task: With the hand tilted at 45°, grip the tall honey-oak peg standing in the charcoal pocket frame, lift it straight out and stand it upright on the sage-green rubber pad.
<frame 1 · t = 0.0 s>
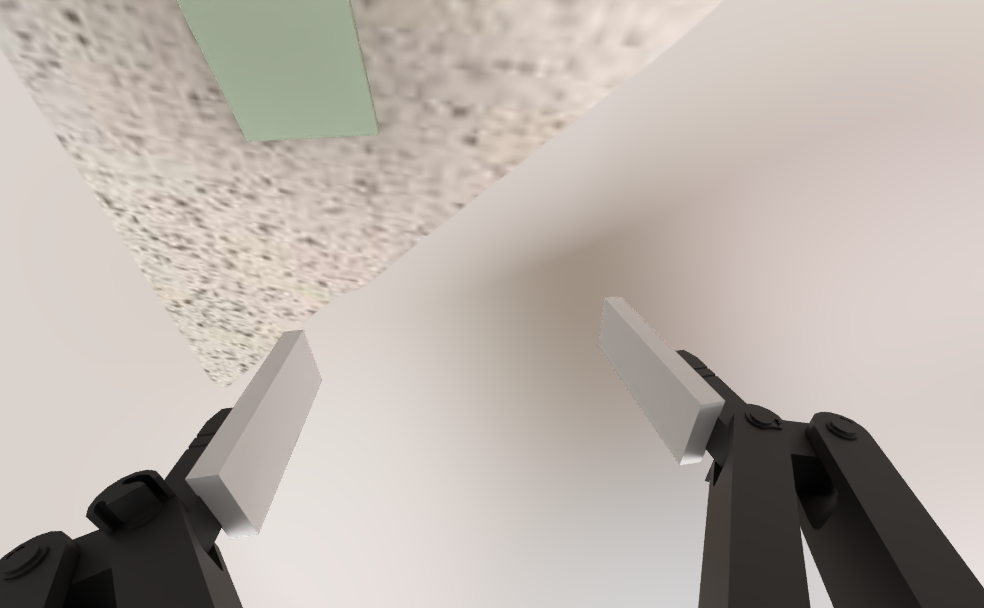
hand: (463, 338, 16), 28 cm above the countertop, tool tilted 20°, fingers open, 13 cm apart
rubber pad: (290, 60, 29), on the countertop
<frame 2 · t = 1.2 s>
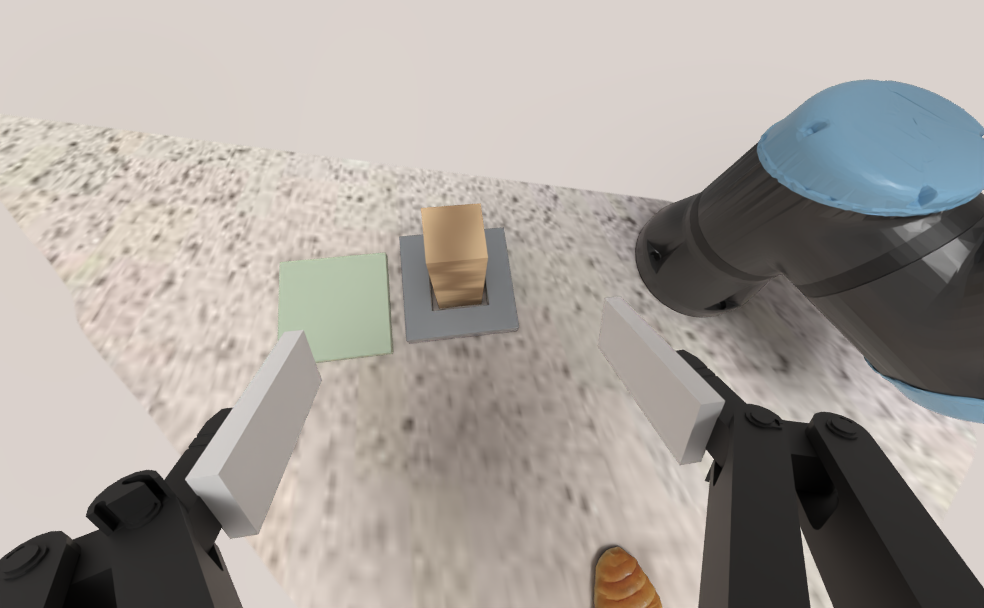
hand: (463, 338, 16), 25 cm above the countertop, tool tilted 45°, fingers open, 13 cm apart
pastry: (620, 605, 35), on the countertop
oak peg: (458, 286, 42), resting in pocket frame
pocket frame: (458, 286, 42), on the countertop
rubber pad: (337, 308, 40), on the countertop
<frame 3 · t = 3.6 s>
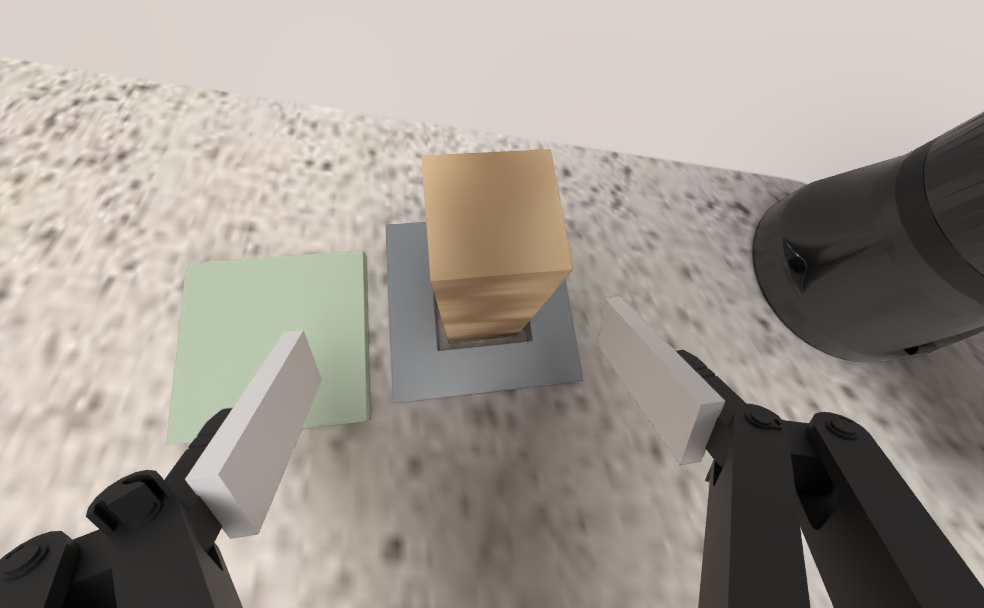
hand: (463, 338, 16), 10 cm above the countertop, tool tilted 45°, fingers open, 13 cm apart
oak peg: (479, 307, 26), resting in pocket frame
pocket frame: (479, 307, 26), on the countertop
rubber pad: (280, 341, 24), on the countertop
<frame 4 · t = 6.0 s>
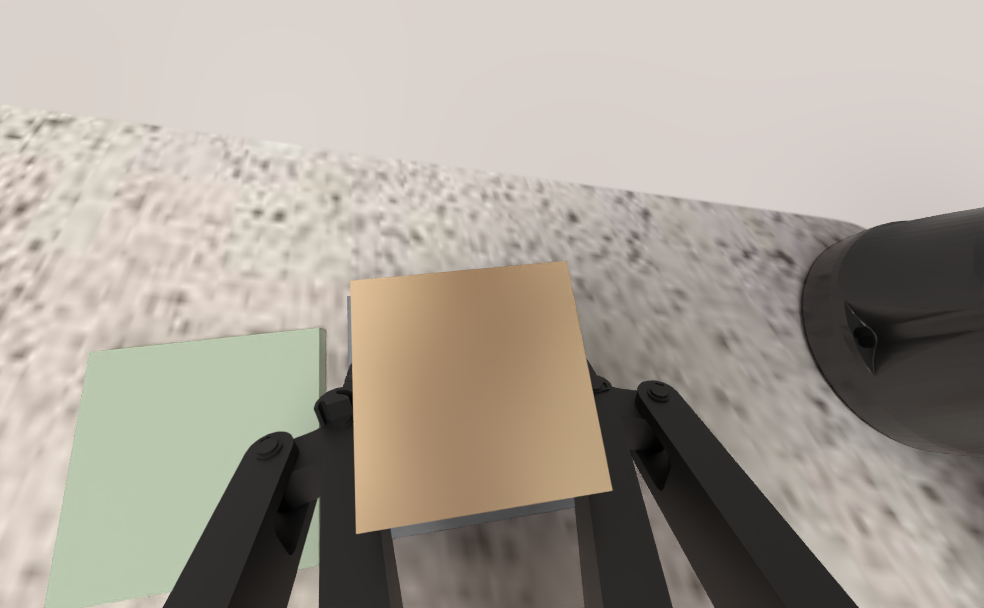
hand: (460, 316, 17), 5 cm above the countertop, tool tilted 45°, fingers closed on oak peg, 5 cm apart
oak peg: (467, 394, 21), resting in pocket frame, touching gripper
pocket frame: (468, 395, 21), on the countertop
rubber pad: (211, 450, 19), on the countertop
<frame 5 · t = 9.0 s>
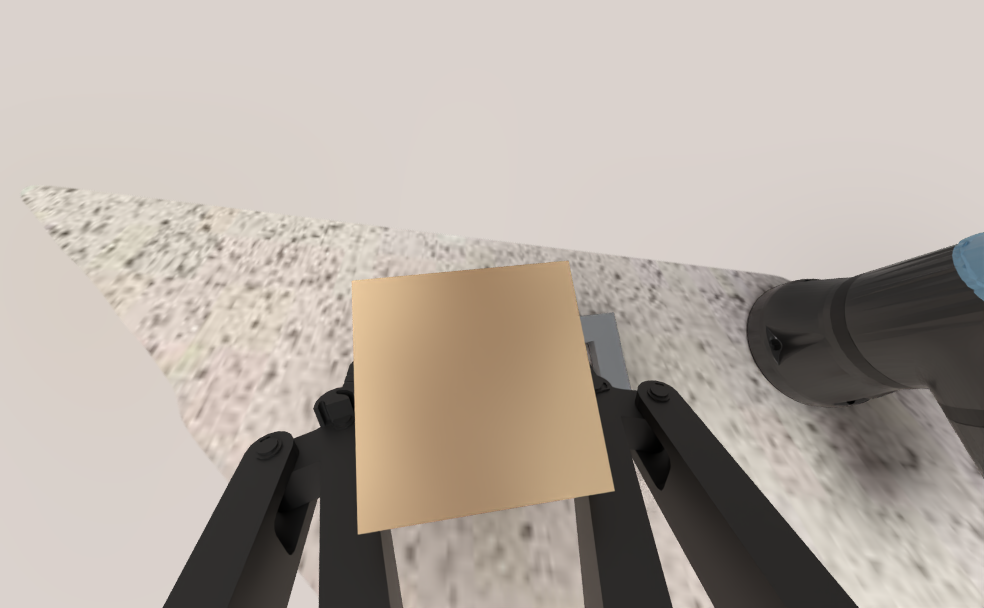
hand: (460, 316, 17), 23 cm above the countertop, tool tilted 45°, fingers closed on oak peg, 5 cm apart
oak peg: (468, 394, 21), point 19 cm above the countertop, touching gripper
pocket frame: (566, 374, 40), on the countertop
when the fingers open (7 cm above the countertop, at t = 12.4 s): oak peg drops 2 cm, resting on rubber pad.
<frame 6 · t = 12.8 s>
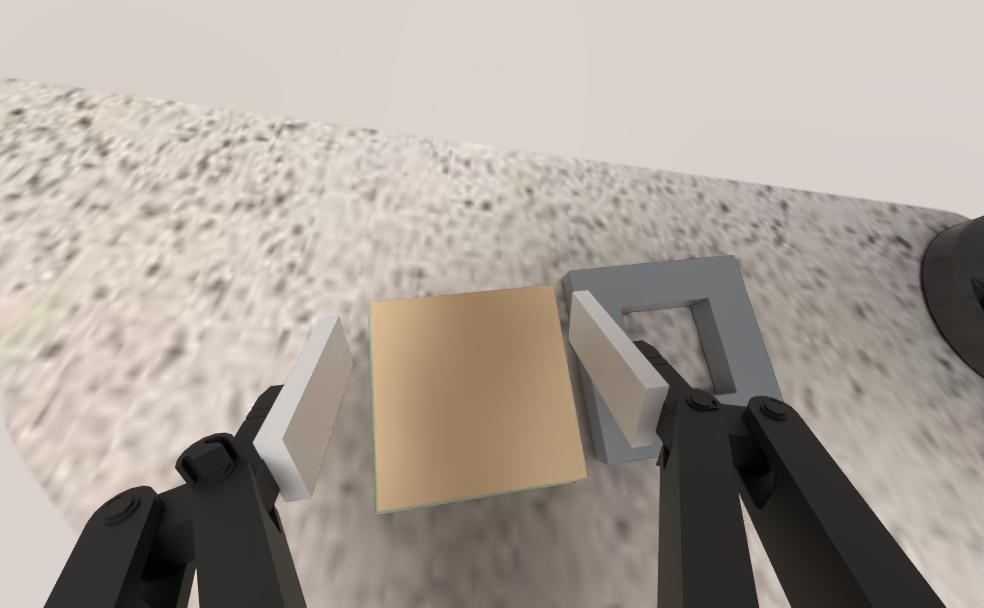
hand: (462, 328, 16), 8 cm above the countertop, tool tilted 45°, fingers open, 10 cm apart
oak peg: (468, 396, 22), point 1 cm above the countertop, touching rubber pad
pocket frame: (661, 353, 25), on the countertop
rubber pad: (467, 395, 23), on the countertop
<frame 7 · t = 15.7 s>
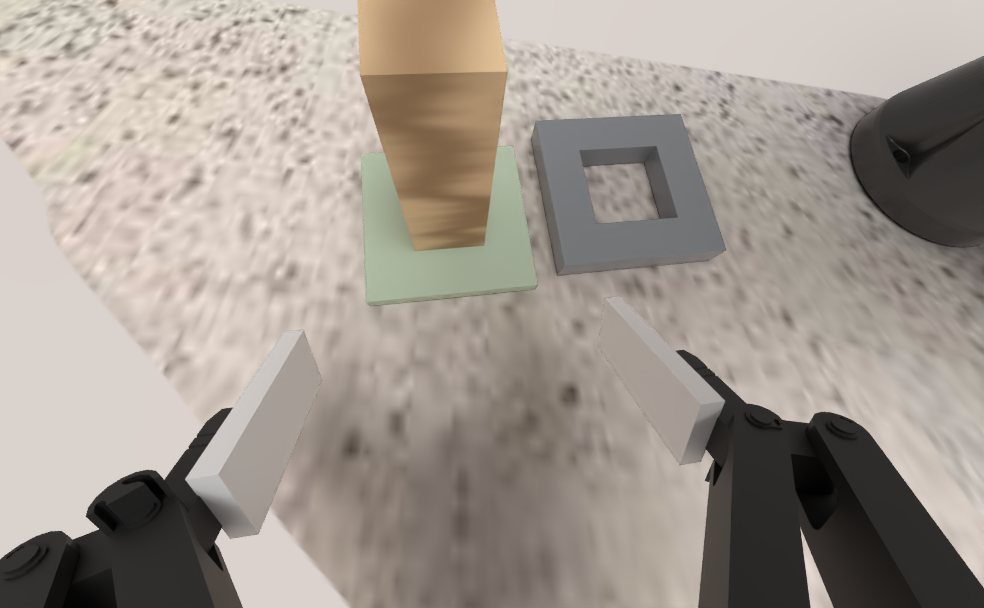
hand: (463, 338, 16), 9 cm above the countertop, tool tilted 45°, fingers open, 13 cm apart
oak peg: (446, 217, 26), point 1 cm above the countertop, touching rubber pad
pocket frame: (616, 197, 29), on the countertop
rubber pad: (446, 223, 27), on the countertop
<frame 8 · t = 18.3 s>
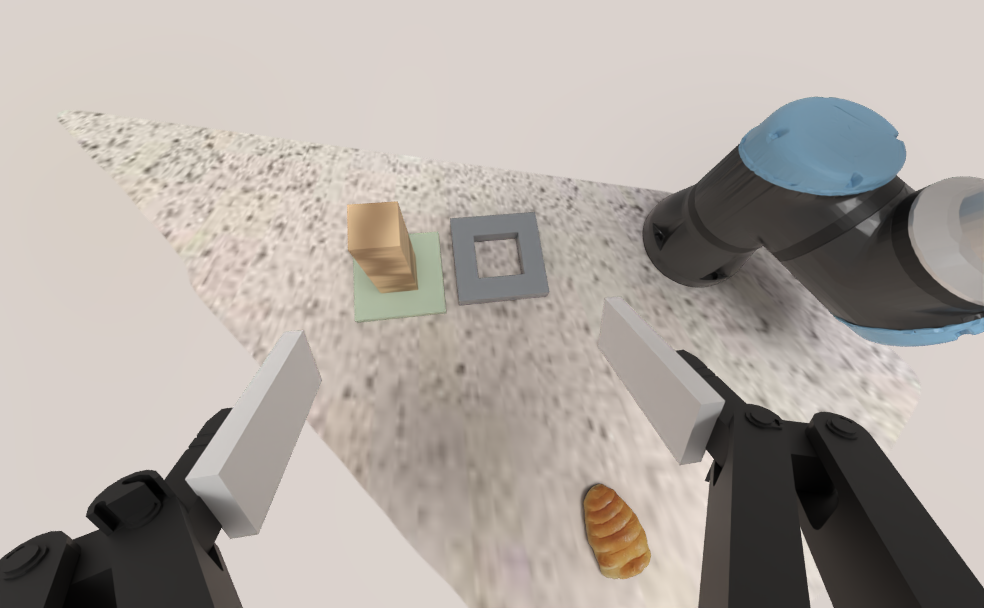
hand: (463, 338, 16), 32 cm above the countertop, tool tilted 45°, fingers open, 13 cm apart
pastry: (608, 529, 43), on the countertop
oak peg: (398, 274, 48), point 1 cm above the countertop, touching rubber pad
pocket frame: (497, 260, 51), on the countertop
rubber pad: (399, 276, 49), on the countertop
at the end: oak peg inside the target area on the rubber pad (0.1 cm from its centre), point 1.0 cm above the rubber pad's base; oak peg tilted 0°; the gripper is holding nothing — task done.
